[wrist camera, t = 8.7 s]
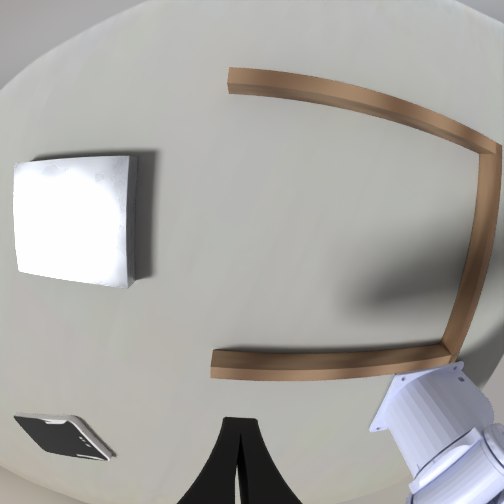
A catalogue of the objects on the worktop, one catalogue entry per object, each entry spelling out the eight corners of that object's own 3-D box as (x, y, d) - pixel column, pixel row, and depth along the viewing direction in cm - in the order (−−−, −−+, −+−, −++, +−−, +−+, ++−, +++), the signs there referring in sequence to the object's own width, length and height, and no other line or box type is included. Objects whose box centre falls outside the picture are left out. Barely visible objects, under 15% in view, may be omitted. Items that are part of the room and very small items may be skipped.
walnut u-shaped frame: (486, 145, 16) (502, 145, 14) (443, 351, 20) (454, 362, 18) (230, 79, 14) (229, 67, 13) (212, 360, 19) (210, 377, 17)
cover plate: (140, 157, 16) (129, 155, 14) (138, 277, 18) (127, 288, 16) (30, 163, 15) (14, 163, 13) (33, 263, 17) (19, 270, 16)
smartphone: (11, 415, 21) (72, 420, 20) (15, 409, 23) (76, 412, 22) (44, 451, 23) (112, 461, 22) (48, 445, 25) (115, 453, 24)
